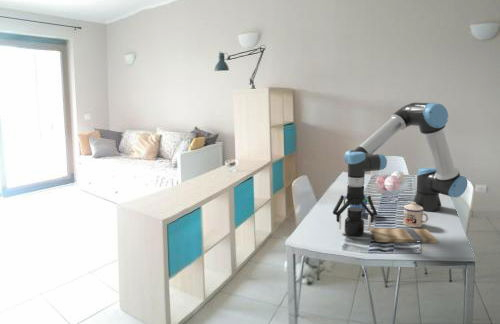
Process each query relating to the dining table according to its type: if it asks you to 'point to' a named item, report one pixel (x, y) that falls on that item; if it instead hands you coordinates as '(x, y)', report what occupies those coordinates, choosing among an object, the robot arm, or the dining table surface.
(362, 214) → the snack cup
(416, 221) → the teacup with lid
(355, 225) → the ink bottle
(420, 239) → the plywood board
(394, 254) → the dining table surface
